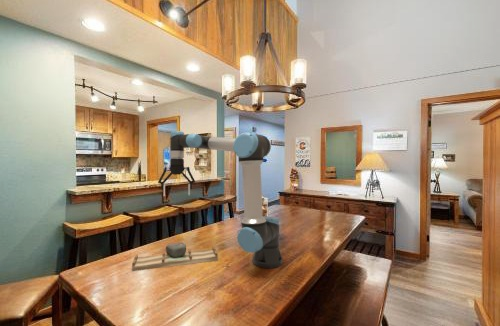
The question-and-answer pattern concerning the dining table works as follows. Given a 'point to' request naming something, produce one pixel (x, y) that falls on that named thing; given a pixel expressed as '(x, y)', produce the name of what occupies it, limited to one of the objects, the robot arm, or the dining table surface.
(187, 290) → the dining table surface
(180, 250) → the stone
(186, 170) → the robot arm
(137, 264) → the ledge
